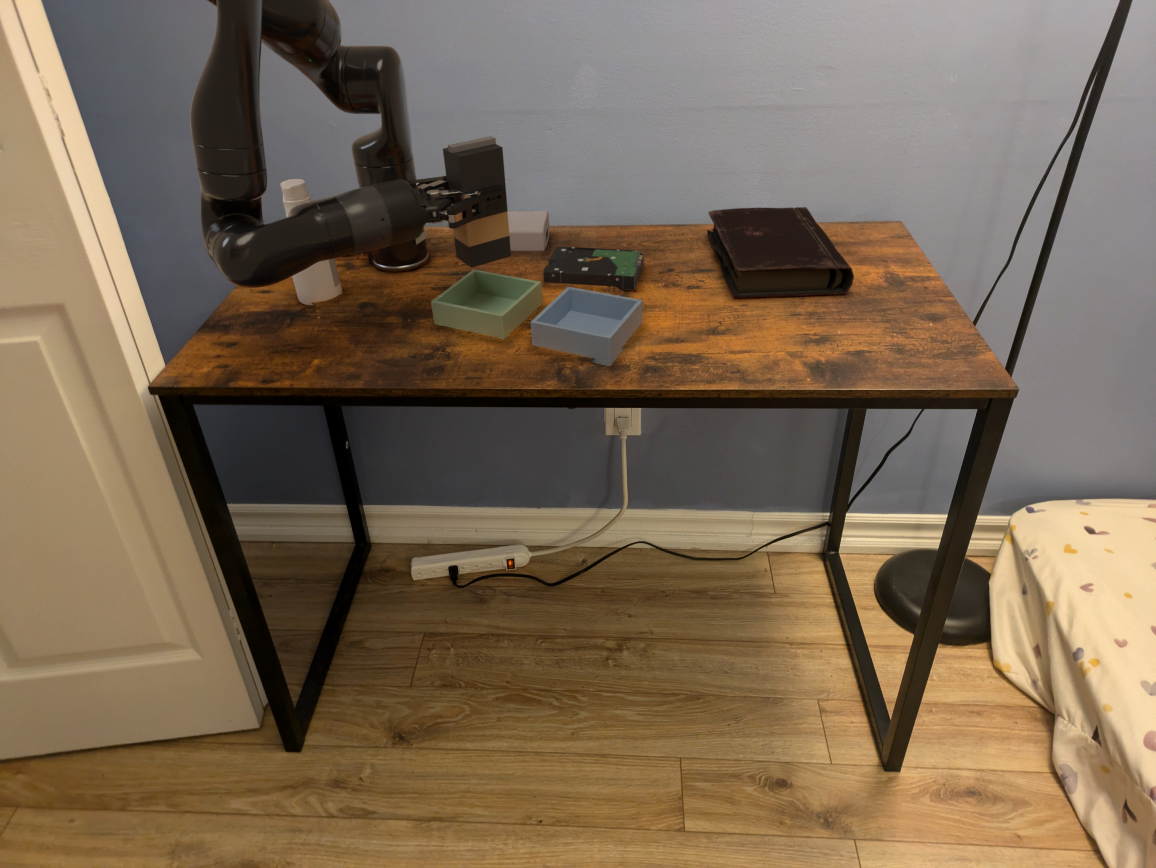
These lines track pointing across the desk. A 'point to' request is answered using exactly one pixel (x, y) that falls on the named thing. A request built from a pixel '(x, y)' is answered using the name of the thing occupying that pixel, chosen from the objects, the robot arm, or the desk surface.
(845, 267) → the diary
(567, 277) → the disk drive
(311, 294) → the spray bottle
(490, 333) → the left bin
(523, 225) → the charger
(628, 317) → the right bin
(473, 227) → the coffee bag
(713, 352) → the desk surface
